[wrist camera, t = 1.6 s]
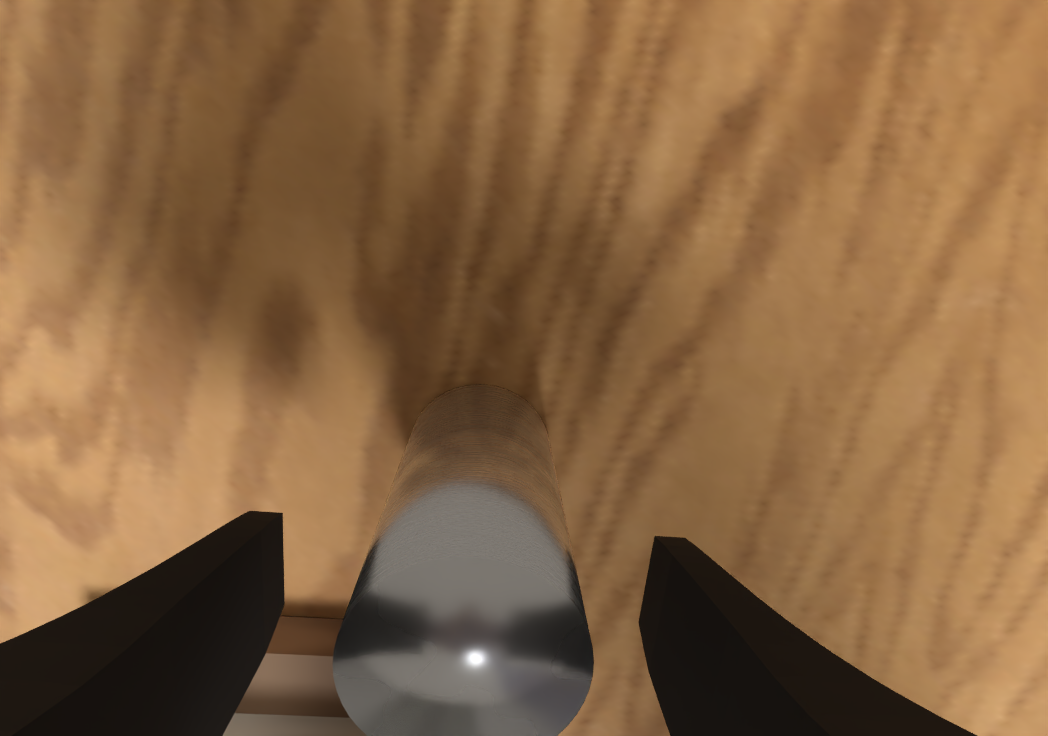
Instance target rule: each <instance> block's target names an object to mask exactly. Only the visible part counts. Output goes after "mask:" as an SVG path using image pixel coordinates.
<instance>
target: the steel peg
mask: <svg viewBox="0 0 1048 736" xmlns="http://www.w3.org/2000/svg"><path fill="white" fill-rule="evenodd" d="M332 665H333V678H334V682H335V686H336V690H337V693H338V696H339V698H340V700H341V703H342V705H343V707H344V708H345V710H346V712H347V713H348V715H349V717H350V718H351V719H352V720H353V721H354V723H355V724H356V725H357V726H358V728H359V729H361V730H362V731H363V732H364V733H365V734H366V735H367V736H557V735H558V734H559V733H560V732H561V731H563V730H564V729H565V728H566V727H567V726H568V725H569V723H570V722H571V721H572V720H573V718H574V717H575V716H576V715H577V713H578V711H579V710H580V708H581V706H582V705H583V703H584V701H585V698H586V696H587V694H588V691H589V688H590V684H591V680H592V676H593V665H594V660H593V648H592V643H591V638H590V633H589V629H588V624H587V619H586V614H585V610H584V605H583V600H582V595H581V590H580V586H579V581H578V576H577V571H576V567H575V562H574V557H573V552H572V547H571V543H570V538H569V533H568V528H567V524H566V519H565V514H564V509H563V504H562V500H561V495H560V490H559V485H558V481H557V476H556V471H555V466H554V461H553V457H552V452H551V447H550V442H549V438H548V434H547V430H546V428H545V425H544V423H543V421H542V419H541V417H540V416H539V414H538V413H537V412H536V410H535V409H534V408H533V407H532V406H531V405H530V404H529V403H528V402H527V401H526V400H524V399H523V398H522V397H520V396H519V395H517V394H515V393H513V392H511V391H509V390H506V389H504V388H500V387H497V386H491V385H467V386H462V387H458V388H455V389H453V390H450V391H448V392H446V393H444V394H442V395H440V396H439V397H437V398H436V399H434V400H433V401H432V402H431V403H430V404H429V405H428V406H427V407H426V408H425V409H424V410H423V411H422V413H421V414H420V416H419V417H418V419H417V421H416V423H415V425H414V427H413V430H412V432H411V435H410V438H409V441H408V443H407V446H406V449H405V452H404V454H403V457H402V460H401V463H400V465H399V468H398V471H397V474H396V476H395V479H394V482H393V485H392V487H391V490H390V493H389V495H388V498H387V501H386V504H385V506H384V509H383V512H382V515H381V517H380V520H379V523H378V526H377V528H376V531H375V534H374V537H373V539H372V542H371V545H370V548H369V550H368V553H367V556H366V559H365V561H364V564H363V567H362V570H361V572H360V575H359V578H358V580H357V583H356V586H355V589H354V591H353V594H352V597H351V600H350V602H349V605H348V608H347V611H346V613H345V616H344V619H343V622H342V624H341V627H340V630H339V633H338V635H337V639H336V643H335V647H334V652H333V663H332Z"/></svg>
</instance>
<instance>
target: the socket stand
mask: <svg viewBox="0 0 1048 736" xmlns="http://www.w3.org/2000/svg"><path fill="white" fill-rule="evenodd" d="M342 622H343V619H324V618H304V617H285V616H280V618H279V620H278V623H277V626H276V629H275V631H274V634H273V636H272V639H271V641H270V644H269V647H268V649H267V652H266V654H265V656H264V658H263V660H262V662H261V664H260V666H259V668H258V670H257V672H256V674H255V676H254V677H253V679H252V681H251V683H250V685H249V687H248V689H247V691H246V693H245V695H244V696H243V698H242V700H241V702H240V704H239V706H238V708H237V710H236V711H235V713H234V715H233V717H232V719H231V721H230V723H229V724H228V726H227V728H226V730H225V732H224V734H223V736H367V735H366V734H365V733H364V732H363V731H362V730H361V729H359V728H358V726H357V725H356V724H355V723H354V721H353V720H352V719H351V718H350V717H349V715H348V713H347V712H346V710H345V708H344V707H343V705H342V703H341V700H340V698H339V696H338V693H337V690H336V686H335V682H334V678H333V665H332V663H333V652H334V647H335V643H336V639H337V635H338V633H339V630H340V627H341V624H342Z"/></svg>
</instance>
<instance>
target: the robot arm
mask: <svg viewBox="0 0 1048 736" xmlns="http://www.w3.org/2000/svg"><path fill="white" fill-rule="evenodd" d="M283 607H284V559H283V513H275V512H259V511H248V512H247V513H245V514H243V515H241V516H239V517H237V518H235V519H234V520H232V521H230V522H229V523H227V524H225V525H224V526H222V527H220V528H219V529H217V530H215V531H214V532H212V533H210V534H209V535H207V536H206V537H204V538H202V539H201V540H199V541H197V542H196V543H194V544H192V545H191V546H189V547H187V548H186V549H184V550H182V551H181V552H179V553H177V554H176V555H174V556H172V557H171V558H169V559H167V560H166V561H164V562H162V563H161V564H159V565H157V566H156V567H154V568H152V569H150V570H148V571H147V572H145V573H143V574H141V575H139V576H137V577H136V578H134V579H132V580H130V581H128V582H127V583H125V584H123V585H121V586H119V587H117V588H116V589H114V590H112V591H110V592H108V593H106V594H105V595H103V596H101V597H99V598H97V599H95V600H93V601H91V602H89V603H88V604H86V605H84V606H82V607H80V608H78V609H75V610H73V611H71V612H69V613H67V614H65V615H63V616H61V617H59V618H57V619H55V620H52V621H50V622H48V623H46V624H44V625H42V626H39V627H37V628H35V629H33V630H31V631H28V632H26V633H24V634H22V635H19V636H17V637H15V638H13V639H10V640H8V641H6V642H3V643H1V644H0V736H223V734H224V732H225V730H226V728H227V726H228V724H229V723H230V721H231V719H232V717H233V715H234V713H235V711H236V710H237V708H238V706H239V704H240V702H241V700H242V698H243V696H244V695H245V693H246V691H247V689H248V687H249V685H250V683H251V681H252V679H253V677H254V676H255V674H256V672H257V670H258V668H259V666H260V664H261V662H262V660H263V658H264V656H265V654H266V652H267V649H268V647H269V644H270V641H271V639H272V636H273V634H274V631H275V629H276V626H277V623H278V620H279V618H280V615H281V612H282V610H283ZM639 627H640V632H641V637H642V642H643V647H644V652H645V657H646V661H647V666H648V670H649V674H650V677H651V680H652V683H653V686H654V689H655V692H656V695H657V698H658V701H659V704H660V707H661V710H662V713H663V716H664V718H665V721H666V724H667V727H668V730H669V733H670V736H977V735H975V734H973V733H971V732H969V731H967V730H965V729H963V728H961V727H959V726H957V725H955V724H953V723H951V722H949V721H947V720H945V719H943V718H942V717H940V716H938V715H936V714H934V713H932V712H931V711H929V710H927V709H925V708H923V707H921V706H920V705H918V704H916V703H914V702H912V701H911V700H909V699H907V698H905V697H903V696H902V695H900V694H898V693H896V692H894V691H893V690H891V689H889V688H888V687H886V686H884V685H883V684H881V683H879V682H878V681H876V680H874V679H873V678H871V677H869V676H868V675H866V674H865V673H863V672H862V671H860V670H858V669H857V668H855V667H854V666H852V665H851V664H849V663H847V662H846V661H844V660H843V659H841V658H840V657H838V656H837V655H835V654H833V653H832V652H830V651H829V650H828V649H826V648H825V647H823V646H822V645H820V644H819V643H817V642H816V641H815V640H813V639H812V638H810V637H809V636H808V635H806V634H805V633H804V632H802V631H801V630H800V629H798V628H797V627H795V626H794V625H793V624H791V623H790V622H789V621H787V620H786V619H785V618H783V617H782V616H781V615H779V614H778V613H777V612H776V611H774V610H773V609H772V608H770V607H769V606H768V605H767V604H765V603H764V602H763V601H762V600H760V599H759V598H758V597H757V596H755V595H754V594H753V593H752V592H750V591H749V590H748V589H747V588H746V587H744V586H743V585H742V584H741V583H740V582H738V581H737V580H736V579H735V578H734V577H732V576H731V575H730V574H729V573H728V572H726V571H725V570H724V569H723V568H722V567H721V566H719V565H718V564H717V563H716V562H715V561H713V560H712V559H711V558H710V557H709V556H707V555H706V554H705V553H704V552H703V551H701V550H700V549H699V548H698V547H696V546H695V545H694V544H692V543H691V542H690V541H688V540H687V539H686V538H678V537H662V536H655V537H654V542H653V548H652V553H651V559H650V564H649V569H648V575H647V580H646V585H645V591H644V596H643V601H642V607H641V612H640V618H639Z"/></svg>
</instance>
